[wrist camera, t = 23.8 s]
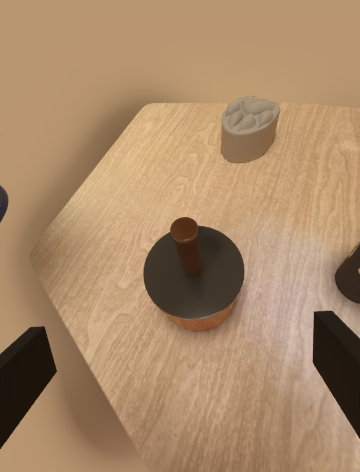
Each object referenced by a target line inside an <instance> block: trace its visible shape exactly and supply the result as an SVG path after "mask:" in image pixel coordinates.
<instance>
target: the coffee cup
mask: <svg viewBox="0 0 360 472" xmlns="http://www.w3.org/2000/svg"><path fill="white" fill-rule="evenodd" d="M335 281H336V284H337V287H338V289H339V290H340V291H341V293H342V294H343V295H344V296H346V297H347V298H348V299H350V300H352V301H354V302H356V303H359V304H360V242H359V243H358V245H357V246H356V247H355V249H354V250H353V251H352V252H351V254H350V255H349V256H348V257H347V259H346V260H345V261H344V262H343V264H342V265H341V266H340V267H339V269H338V270H337V272H336V275H335Z"/></svg>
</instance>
